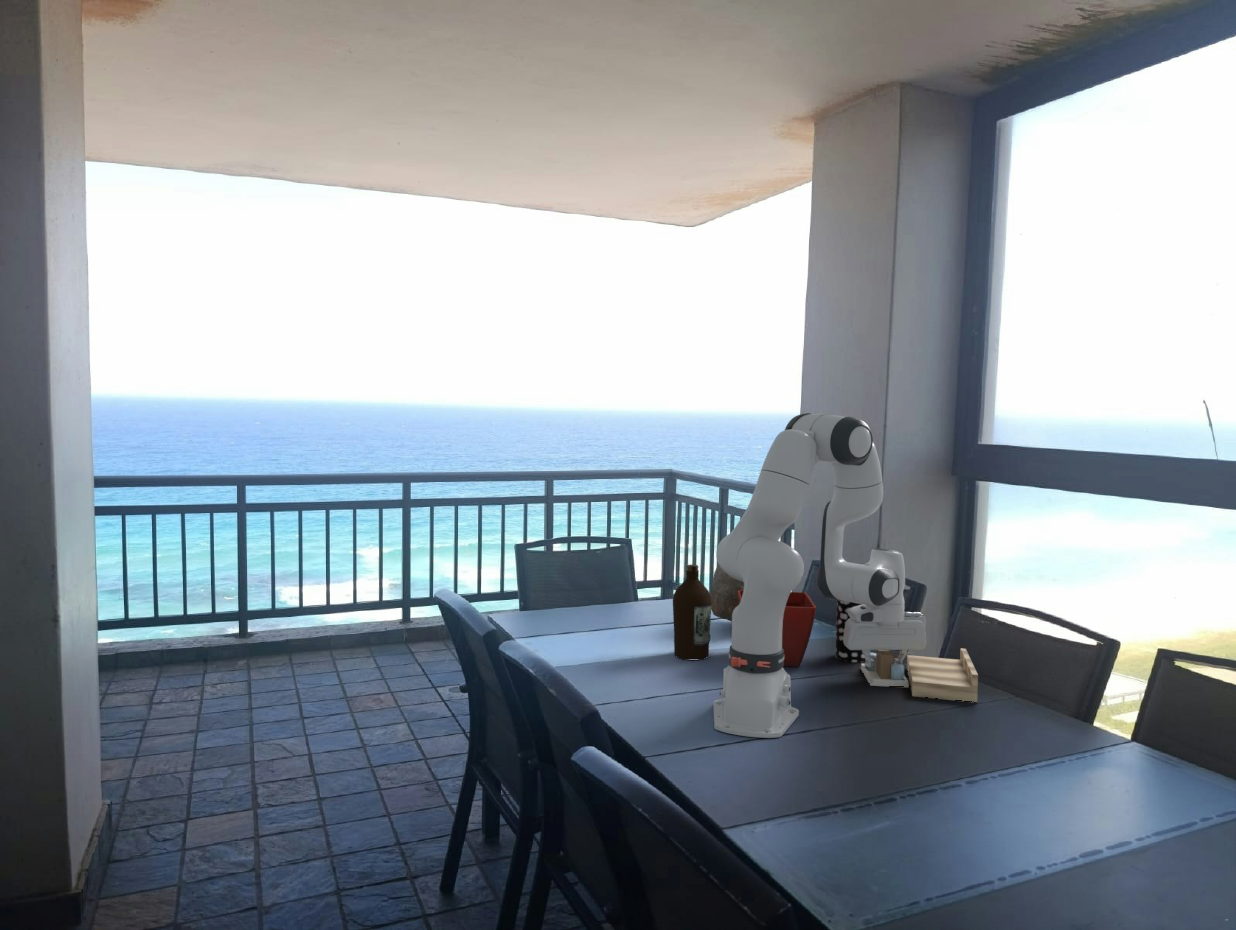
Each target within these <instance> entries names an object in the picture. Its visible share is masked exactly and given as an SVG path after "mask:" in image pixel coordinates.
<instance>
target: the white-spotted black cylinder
mask: <svg viewBox="0 0 1236 930" xmlns="http://www.w3.org/2000/svg"><path fill="white" fill-rule="evenodd" d="M858 605H861V604H858V603H853V602H847V601H838V600H836V618H835V619H836V622H835V623H836V624H835V628H836V629H835V630H836V631H835V658H836V659H837V660H839V659H840V661H842V660H843V661H842V662H846V663H847V662H848V663H864V662H865V656H864V655H863V653H862V650H850V649H848V648H847V647H846V646H845V645H844V642H843V638H844V629H845V624H846V621H847V620H848V619H849V618H851V617H850V616H849V615H848V610H849V609H850V608H852V607H855V606H858Z"/></svg>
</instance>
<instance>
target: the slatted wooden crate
mask: <svg viewBox="0 0 1236 930" xmlns="http://www.w3.org/2000/svg"><path fill="white" fill-rule="evenodd" d="M959 651H960V653H959V654H960V655H959V657H960V659H955V658H946V657H945V658H944V657H932V656H924V655H923V656H921V655H910V654H909V655H908V654H907V655H906V670H907V671H908V672H907V675H908V676H909V677H908V681H909V686H911V687H910V692H911V695H912V697H918V698H925V697H928V698H927V699H935V698H938V699H937V700H944V701H945V700H946V701H947V700H948V701H955V700H962V701H961V702H964V701H972V702H971V703H974V702H977V703H978V693H979V692H978V691H979V690H978V688H979V687H978V686H979V674H978V672H977V669H976V668H975V666H974V663H973V661H972V659H971V657H970V655H969V653H968V651H967V648H960V650H959ZM973 701H974V702H973Z"/></svg>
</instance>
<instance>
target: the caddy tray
mask: <svg viewBox="0 0 1236 930" xmlns="http://www.w3.org/2000/svg"><path fill="white" fill-rule="evenodd" d="M875 651H876V652H870V654H868V655H869V657H870V659H873V660H874V667H867V666H866V658H865V661H864V662H865V663H863V662H860V670H861V672H862V674H863V673H864V674H863V675H864V677H865V679H866V681H867V682H868V684H869V683H870V684H869V685H870V686H871V687H873V686H875V687H889V686H904V687H903V688H909V686H910V682H909V679H908V678H907V677H906V675H905V665H904V664H903V663H902V664H896V663H895V664H894V655H893V653H892V652H891V650H875Z"/></svg>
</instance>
